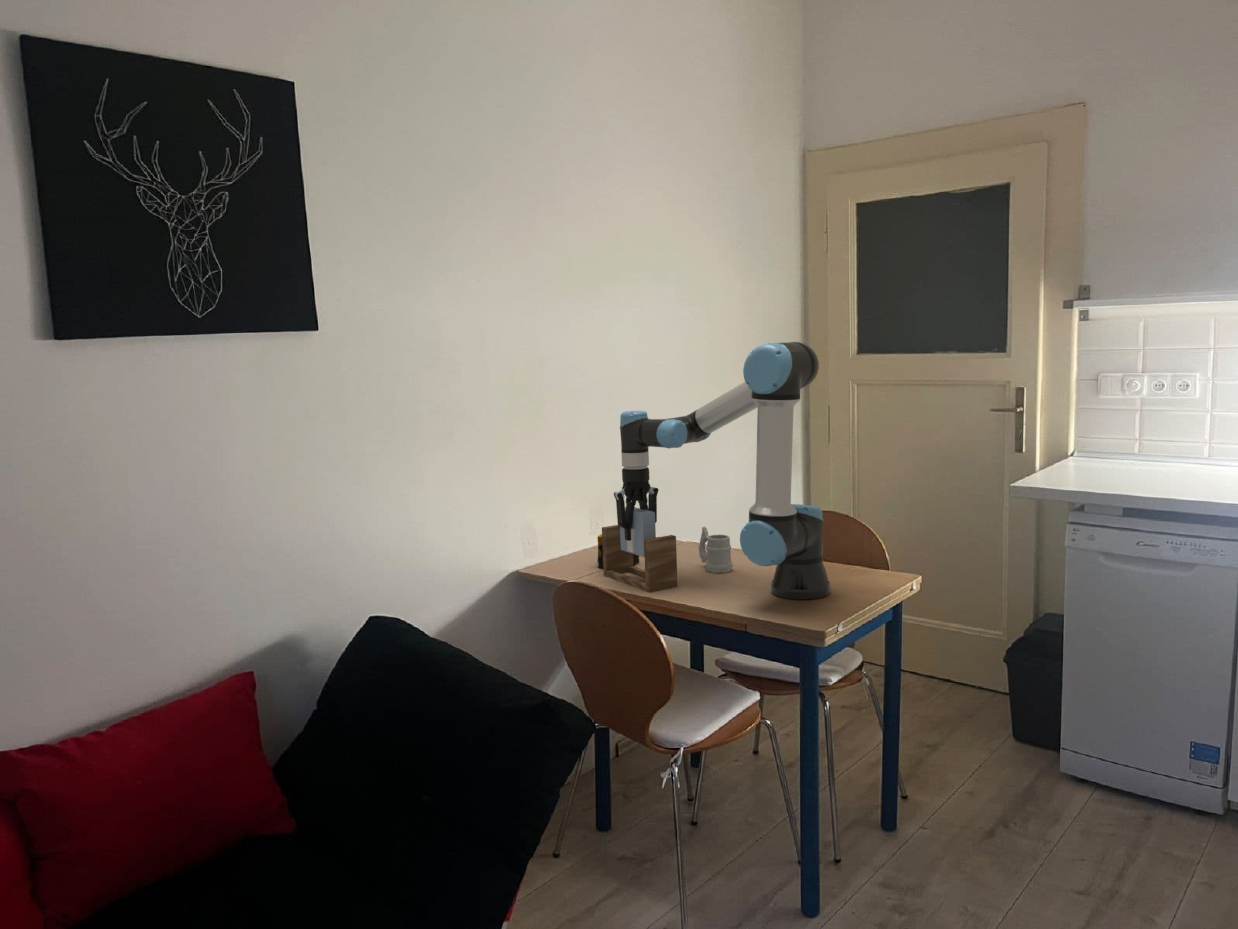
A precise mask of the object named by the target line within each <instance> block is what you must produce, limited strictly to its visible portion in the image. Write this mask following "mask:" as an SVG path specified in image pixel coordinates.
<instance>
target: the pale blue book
mask: <svg viewBox="0 0 1238 929" xmlns="http://www.w3.org/2000/svg"><path fill="white" fill-rule="evenodd" d="M625 510H626V506H625ZM632 529H634V538H635V552H633V553H632V552H629V551H628V550H627V540H625V531H624V528H622V527H620V540H621V550H623V551H626V552H629V553H632V554H635V555H639V557H643V558H645V554H644V540H645V539H651V538H657V535H656V533H657V532H656V523H655V512H653V511H648V510H643V509H640V507H634V512H633V521H632Z"/></svg>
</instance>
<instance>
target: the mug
mask: <svg viewBox="0 0 1238 929" xmlns="http://www.w3.org/2000/svg"><path fill="white" fill-rule="evenodd" d="M700 536H701V537H700V540H699V545H698V551H699V552H698V554H699V558H700V559H701V562H702V563H703V564H705V567H706V571H707V572H708V573H713V574H725V573H729V572H731V571H732V567H733V564H734V563H733V561H732V556H731V555H732V554H731V553H732V552H731V550H732V546H731V540H730V536H729V535H727V534H711V535H709V532H708V528H707V527H706V526H702V527H701V535H700ZM706 544H707V545H706Z"/></svg>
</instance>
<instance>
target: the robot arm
mask: <svg viewBox="0 0 1238 929" xmlns="http://www.w3.org/2000/svg"><path fill="white" fill-rule="evenodd" d="M819 369H820V362H819V358H818V355H817V353H816V352H815V351H814V350H813V348H812V347H811V346H809V345H808V344H806V343H803V342H800V341H791V342H789V341H788V342H767V343H765V344H761V345H758V346H756V347H755V348H753V349H752V351H751V352H749V354H748V355H747V357H746V359H745V360H744V364H743V370H742V371H743V373H742V374H743V379H744V382H742V383H740V384H739V385H737V386H735V387H733V388H732V389H730V390H728V391H726V392H725V393H723V394H721V395H720V396H717V397H716V398H714V399H712V400H711V401H709V402H707V403H706V404H704V405H703V406H701V407H698V408H697V409H695V410H694V411H693V412H691V413H689V414H687V415H683V416H676V417H667V418H660V419H657V418H654V419H653V418H649V416H648V412H647V411H645V410H627V411H623V412H622V413H621V414H620V421H619V422H620V425H619V430H620V433H619V434H620V442H621V443H620V446H621V450H620V451H621V466H622V467H623V468H622V469H621V477H622V478H621V480H622V483H623V484H622V487H621V490H619V491H615V492H614V493H613V496H614V499H615V504H616V506H615V507H616V517H617V518H616V520H617V525H618V526H619V527H622V528H624V531H625V540H627V550H628V551H629V552H632V553H633V552H635V538H634V529H632V521H633V512H634V507H635V506H636V505H637V502H638V505H639V508H640V509H643V510H648V511H653V512H655V524H656V523H657V522H658V519H657V518H658V515H657V514H658V510H657V509H658V507H657V506H658V504H657V503H658V500H657V499H658V493H659V488H658V487H653V486H651V484H650V482H649V481H650V468H649V465H650V456H649V454H650V453H649V452H650V450H649V447H651V448H652V447H653V448H665V449H679V448H681V447H683V446H684V445H685V444H690V443H691V444H692V443H699V442H702V441H705V440H706V439H708V438H709V437H710V436H711V435H712V433H713V432H715V431H718V430H719V429H721V428H723V427H725V426H727V425H728V424H730V423H732V422H734V421H735V420H737V419H739V418H741V417H743V416H745V415H746V414H749V413H750V412H752V411H754V410H757V414H756V415H757V416H756V417H757V418H756V419H757V420H756V422H757V423H756V429H757V430H756V458H755V460H756V464H755V465H756V466H755V501H754V504H753V505H751V506H750V507H749V508H748V522H747V523H746V524H745V525H744V527H742V529H741V531H740V534H739V543H740V548H741V549H742V550H741V551H742V553H743V554H744V555H745V556H746V557H747V559H748V560H749V561H750V562H751V563H753V564H755V565H757V566H759V567H772V566H776V567H775V571H774V575H773V579H772V580H771V582H770V592H771V594H772V595H774V596H776V597H779V598H784V599H789V600H814V599H822V598H824V597H827V596H829V595H830V594H831V582H830V581H829V578H828V575H827V570H826V568H825V565H824V518H823V510H822V509H821V508H820V506H817V505H811V504H809V505H808V504H797V503H792V502H791V501H792V471H793V470H792V469H793V468H792V466H793V438H794V407H795V406H796V404H798V403H799V402H800V401H801V389H804V388H806V387H808V386H809V385H810V384H812V383H813V382H814V380H816V377H817V375H818V373H819ZM647 494H648V496H647ZM624 498H625V499H624ZM625 507H626V510H625Z"/></svg>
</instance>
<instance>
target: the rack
mask: <svg viewBox="0 0 1238 929" xmlns="http://www.w3.org/2000/svg"><path fill="white" fill-rule="evenodd" d="M601 534H602V545H603V569H602V570H603V576H604V577H605V576H606V577H607V578H611V579H613V580H616V581H619V582H621V583H624V584H626V585H630V586H631V587H634V588H638V589H640V590H643V591H645V592H649V593H653V592H659V591H663V590H669V589H672V588H678V587H679V586H678V565H677V564H678V563H677V562H678V561H677V558H678V557H677V556H678V555H677V535H674V534H673V535H672V534H668V535H662V536H658V537H657V536H656V538H651V539H645V540H644V554H645V557H644V569H643V568H640V567H637V566H634V565H633V554H632V553H629V552H626V551H623V550H621V540H620V527H619V526H618V524H615V525H609V526H608V525H607V526H602V527H601ZM627 573H631V574H633V575H636V576H639V577H642V578H645V582H644V581H641V580H639V579H636V578H633V577H630V576H628V575H626V574H627Z"/></svg>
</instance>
